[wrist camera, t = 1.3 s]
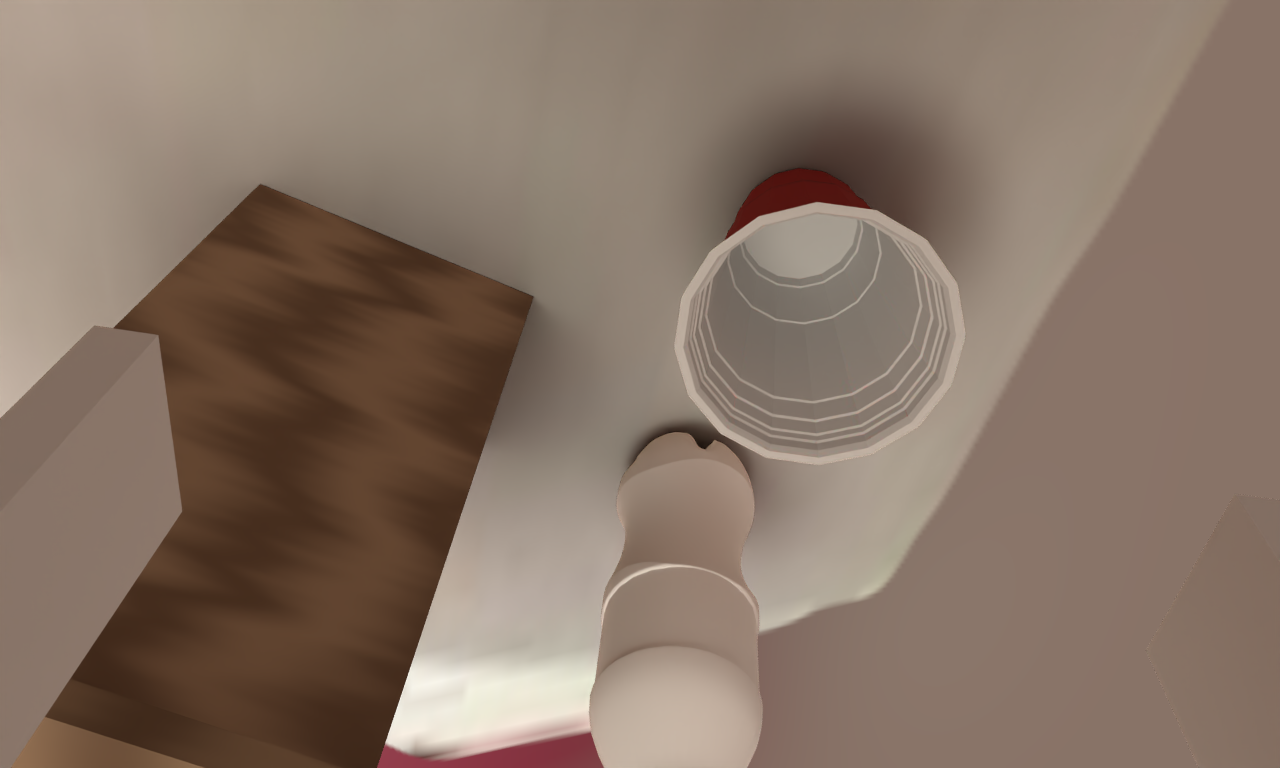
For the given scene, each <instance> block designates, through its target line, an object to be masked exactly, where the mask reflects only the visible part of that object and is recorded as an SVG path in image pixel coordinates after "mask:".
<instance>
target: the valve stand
mask: <svg viewBox="0 0 1280 768" xmlns="http://www.w3.org/2000/svg"><path fill="white" fill-rule="evenodd" d="M532 300H533V296H530V295H528V294H525V293H523V292H521V291H518V290H516V289H513V288H511V287H508V286H506V285H504V284H501V283H499V282H496V281H494V280H491V279H489V278H487V277H484V276H482V275H479V274H477V273H474V272H472V271H470V270H467V269H465V268H462V267H460V266H457V265H455V264H453V263H450V262H448V261H445V260H443V259H440V258H438V257H436V256H433V255H431V254H428V253H426V252H423V251H421V250H419V249H416V248H414V247H411V246H409V245H406V244H404V243H402V242H399V241H397V240H394V239H392V238H390V237H387V236H385V235H382V234H380V233H377V232H375V231H373V230H370V229H368V228H365V227H363V226H360V225H358V224H356V223H353V222H351V221H348V220H346V219H343V218H341V217H339V216H336V215H334V214H331V213H329V212H326V211H324V210H322V209H319V208H317V207H314V206H312V205H309V204H307V203H305V202H302V201H300V200H297V199H295V198H292V197H290V196H288V195H285V194H283V193H280V192H278V191H275V190H273V189H271V188H268V187H266V186H263V185H261V184H260V185H259V186H258V187H257V188H256V189H255V190H254V191H253V192H251V193H250V194H249V195H248V196H247V197H246V198H245V199H244V200H243V201H242V202H241V203H240V204H239V205H238V206H237V207H236V208H235V209H234V210H233V211H232V212H231V213H230V214H229V215H228V216H227V217H226V218H225V219H224V220H223V221H222V222H221V223H220V224H219V225H218V226H217V227H216V228H215V229H214V230H213V231H212V232H211V233H210V234H209V235H208V236H207V237H206V238H205V239H204V240H203V241H202V242H201V243H200V244H199V245H198V246H197V247H195V248H194V249H193V250H192V251H191V252H190V253H189V254H188V255H187V256H186V257H185V258H184V259H183V260H182V261H181V262H180V263H179V264H178V265H177V266H176V267H175V268H174V269H173V270H172V271H171V272H170V273H169V274H168V275H167V276H166V277H165V278H164V279H163V280H162V281H161V282H160V283H159V284H158V285H157V286H156V287H155V288H154V289H153V290H152V291H151V292H150V293H149V294H148V295H147V296H146V297H145V298H144V299H143V300H142V301H141V302H140V303H138V304H137V305H136V306H135V307H134V308H133V309H132V310H131V311H130V312H129V313H128V314H127V315H126V316H125V317H124V318H123V319H122V320H121V321H120V322H119V323H118V324H117V325H116V326H115V327H114V329H121V330H128V331H134V332H141V333H148V334H155V335H158V337H159V344H160V351H161V359H162V366H163V373H164V381H165V388H166V395H167V403H168V410H169V417H170V425H171V432H172V439H173V446H174V454H175V461H176V468H177V476H178V483H179V490H180V498H181V505H182V512H181V514H180V515H179V517H178V518H177V520H176V521H175V523H174V524H173V526H172V527H171V529H170V530H169V532H168V533H167V535H166V536H165V538H164V539H163V541H162V542H161V544H160V545H159V547H158V548H157V550H156V551H155V553H154V554H153V556H152V557H151V559H150V560H149V562H148V563H147V565H146V566H145V568H144V569H143V571H142V572H141V574H140V575H139V577H138V578H137V580H136V581H135V583H134V584H133V586H132V587H131V589H130V590H129V592H128V593H127V595H126V596H125V598H124V599H123V601H122V602H121V604H120V605H119V607H118V608H117V610H116V611H115V613H114V614H113V616H112V617H111V619H110V620H109V622H108V623H107V625H106V626H105V628H104V629H103V631H102V632H101V633H100V635H99V636H98V638H97V639H96V641H95V642H94V644H93V645H92V647H91V648H90V650H89V651H88V653H87V654H86V656H85V657H84V659H83V660H82V662H81V663H80V665H79V666H78V668H77V669H76V671H75V672H74V674H73V675H72V677H71V678H70V680H69V681H68V683H67V684H66V686H65V687H64V689H63V690H62V692H61V693H60V695H59V696H58V698H57V699H56V701H55V702H54V704H53V705H52V707H51V708H50V710H49V711H48V713H47V714H46V716H45V717H44V719H43V720H42V722H41V723H40V725H39V726H38V728H37V729H36V731H35V732H34V734H33V735H32V737H31V738H30V740H29V741H28V743H27V744H26V746H25V747H24V749H23V750H22V752H21V753H20V755H19V756H18V758H17V759H16V760H15V762H14V763H13V765H12V766H11V768H377V765H378V763H379V760H380V757H381V754H382V751H383V748H384V745H385V742H386V739H387V736H388V733H389V730H390V727H391V724H392V721H393V718H394V715H395V712H396V709H397V706H398V703H399V700H400V697H401V694H402V691H403V688H404V685H405V682H406V679H407V676H408V673H409V670H410V667H411V664H412V661H413V658H414V655H415V652H416V649H417V646H418V643H419V640H420V637H421V634H422V631H423V628H424V625H425V621H426V618H427V615H428V612H429V609H430V606H431V603H432V600H433V597H434V594H435V591H436V588H437V585H438V582H439V579H440V576H441V573H442V570H443V567H444V564H445V561H446V558H447V555H448V552H449V549H450V546H451V543H452V540H453V537H454V534H455V531H456V528H457V525H458V522H459V519H460V516H461V513H462V510H463V507H464V504H465V501H466V498H467V495H468V492H469V489H470V486H471V483H472V480H473V477H474V474H475V471H476V468H477V465H478V462H479V459H480V456H481V453H482V450H483V447H484V444H485V441H486V438H487V435H488V432H489V429H490V426H491V423H492V420H493V417H494V414H495V411H496V408H497V405H498V402H499V399H500V396H501V393H502V390H503V387H504V384H505V381H506V378H507V375H508V372H509V369H510V366H511V363H512V360H513V357H514V354H515V351H516V348H517V345H518V342H519V339H520V336H521V333H522V330H523V327H524V324H525V321H526V318H527V315H528V312H529V309H530V306H531V303H532Z"/></svg>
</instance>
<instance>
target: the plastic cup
mask: <svg viewBox="0 0 1280 768" xmlns="http://www.w3.org/2000/svg"><path fill="white" fill-rule="evenodd" d="M965 337H966V333H965V327H964V321H963V315H962V308H961V302H960V296H959V290H958V284H957V282H956V281H955V279H954V278H953V277H952V275H951V274H950V272H949V271H948V269H947V268H946V267H945V265H944V264H943V262H942V261H941V259H940V258H939V257H938V255H937V254H936V252H935V251H934V249H933V248H932V247H931V245H930V244H929V242H928V241H927V239H925V238H923V237H922V236H920V235H918V234H917V233H915V232H913V231H911V230H910V229H908V228H906V227H905V226H903V225H901V224H900V223H898V222H896V221H894V220H893V219H891V218H889V217H888V216H886V215H884V214H882V213H881V212H879V211H877V210H872V209H871V208H870V207H869V206H868V205H867V204H866V203H865V202H864V201H863V199H861V198H859V197H857V196H856V195H855V193H854V192H853V191H852V190H851V189H850V187H849V186H848V185H847V184H845V183H843V182H842V181H840V180H838V179H836V178H835V177H833V176H831V175H829V174H828V173H826V172H823V171H817V170H809V169H801V168H797V169H793V170H789V171H785V172H781V173H777V174H774V175H773V176H771V177H770V178H768V179H767V180H766V181H764V182H763V183H761V184H760V185H758V186H757V187H756V188H755V189H753V190H752V191H751V193H750V194H749V196H748V197H747V199H746V200H745V202H744V203H743V205H742V207H741V208H740V210H739V211H738V214H737V216H736V219H735V222H734V223H733V225H732V227H731V228H730V230H729V231H728V233H727V236H726V238H725V240H724V241H723V242H722V243H720V244H719V245H718V246H716V247H715V248H713V249H712V250H711V251H710V252H709V254H708V255H707V257H706V259H705V260H704V262H703V263H702V265H701V267H700V268H699V270H698V271H697V273H696V275H695V276H694V278H693V279H692V281H691V282H690V284H689V286H688V287H687V289H686V290H685V292H684V294H683V295H682V297H681V303H680V310H679V317H678V324H677V331H676V338H675V345H674V349H675V353H676V356H677V359H678V363H679V366H680V370H681V373H682V376H683V380H684V383H685V387H686V390H687V393H688V396H689V397H690V398H691V400H692V401H693V402H694V403H695V404H696V405H697V407H698V408H699V409H700V410H701V411H702V413H703V414H704V415H705V416H706V417H707V418H708V420H709V421H710V422H711V423H712V424H713V426H714V427H715V428H716V429H717V430H718V431H719V433H720V434H722V435H724V436H726V437H728V438H729V439H731V440H733V441H735V442H737V443H739V444H741V445H743V446H745V447H746V448H748V449H750V450H752V451H754V452H756V453H758V454H760V455H762V456H763V457H765V458H771V459H778V460H785V461H793V462H800V463H807V464H814V465H821V464H826V463H831V462H836V461H841V460H846V459H852V458H857V457H862V456H867V455H872V454H873V453H875V452H877V451H878V450H880V449H882V448H883V447H885V446H887V445H889V444H890V443H892V442H894V441H895V440H897V439H899V438H900V437H902V436H904V435H906V434H907V433H909V432H911V431H912V430H914V429H916V428H917V427H919V425H920V424H921V423H922V422H923V420H924V419H925V418H926V417H927V415H928V414H929V413H930V412H931V411H932V409H933V408H934V407H935V406H936V404H937V403H938V402H939V401H940V399H941V398H942V397H943V396H944V394H945V393H946V392H947V391H948V389H949V388H950V387H951V386H952V382H953V379H954V375H955V372H956V368H957V365H958V361H959V358H960V354H961V351H962V347H963V344H964V340H965Z"/></svg>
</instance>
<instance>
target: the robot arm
mask: <svg viewBox="0 0 1280 768" xmlns="http://www.w3.org/2000/svg"><path fill="white" fill-rule="evenodd" d="M181 512H182V505H181V498H180V490H179V483H178V476H177V468H176V461H175V454H174V446H173V439H172V432H171V425H170V417H169V410H168V403H167V395H166V388H165V381H164V373H163V366H162V359H161V351H160V344H159V337H158V335H155V334H148V333H141V332H134V331H128V330H121V329H114V328H107V327H100V326H93V327H92V328H91V329H90V330H89V331H88V332H87V333H86V334H85V335H84V336H83V337H82V338H81V339H80V340H79V341H78V342H77V343H76V344H75V345H74V346H73V347H72V348H71V349H70V350H69V351H68V352H67V353H66V354H65V355H64V356H63V357H62V358H61V359H60V360H59V361H58V362H57V363H56V364H55V365H54V366H53V367H52V368H51V369H50V370H49V371H48V372H47V373H46V374H45V375H44V376H43V377H42V378H41V379H40V380H39V381H38V382H37V383H36V384H35V385H34V386H33V387H32V388H31V389H30V390H29V391H28V392H27V393H26V394H25V395H24V396H23V397H22V398H21V399H20V400H19V401H18V402H17V403H16V404H15V405H14V406H12V407H11V408H10V409H9V410H8V411H7V412H6V413H5V414H4V415H3V416H2V417H1V418H0V768H11V766H12V765H13V763H14V762H15V760H16V759H17V758H18V756H19V755H20V753H21V752H22V750H23V749H24V747H25V746H26V744H27V743H28V741H29V740H30V738H31V737H32V735H33V734H34V732H35V731H36V729H37V728H38V726H39V725H40V723H41V722H42V720H43V719H44V717H45V716H46V714H47V713H48V711H49V710H50V708H51V707H52V705H53V704H54V702H55V701H56V699H57V698H58V696H59V695H60V693H61V692H62V690H63V689H64V687H65V686H66V684H67V683H68V681H69V680H70V678H71V677H72V675H73V674H74V672H75V671H76V669H77V668H78V666H79V665H80V663H81V662H82V660H83V659H84V657H85V656H86V654H87V653H88V651H89V650H90V648H91V647H92V645H93V644H94V642H95V641H96V639H97V638H98V636H99V635H100V633H101V632H102V631H103V629H104V628H105V626H106V625H107V623H108V622H109V620H110V619H111V617H112V616H113V614H114V613H115V611H116V610H117V608H118V607H119V605H120V604H121V602H122V601H123V599H124V598H125V596H126V595H127V593H128V592H129V590H130V589H131V587H132V586H133V584H134V583H135V581H136V580H137V578H138V577H139V575H140V574H141V572H142V571H143V569H144V568H145V566H146V565H147V563H148V562H149V560H150V559H151V557H152V556H153V554H154V553H155V551H156V550H157V548H158V547H159V545H160V544H161V542H162V541H163V539H164V538H165V536H166V535H167V533H168V532H169V530H170V529H171V527H172V526H173V524H174V523H175V521H176V520H177V518H178V517H179V515H180V514H181ZM1146 652H1147V654H1148V656H1149V659H1150V661H1151V663H1152V665H1153V668H1154V670H1155V672H1156V674H1157V677H1158V679H1159V681H1160V683H1161V685H1162V688H1163V690H1164V692H1165V694H1166V696H1167V699H1168V701H1169V703H1170V705H1171V708H1172V710H1173V712H1174V714H1175V717H1176V719H1177V721H1178V723H1179V725H1180V728H1181V730H1182V732H1183V735H1184V737H1185V739H1186V741H1187V743H1188V746H1189V748H1190V750H1191V752H1192V755H1193V757H1194V759H1195V761H1196V763H1197V766H1198V768H1280V500H1275V499H1268V498H1261V497H1255V496H1248V495H1241V494H1234V496H1233V498H1232V500H1231V501H1230V503H1229V505H1228V507H1227V508H1226V510H1225V512H1224V514H1223V515H1222V517H1221V519H1220V521H1219V522H1218V524H1217V526H1216V528H1215V529H1214V532H1213V533H1212V535H1211V536H1210V538H1209V540H1208V542H1207V544H1206V545H1205V547H1204V549H1203V551H1202V552H1201V554H1200V556H1199V558H1198V559H1197V561H1196V563H1195V565H1194V567H1193V568H1192V570H1191V572H1190V574H1189V575H1188V577H1187V579H1186V581H1185V582H1184V584H1183V586H1182V588H1181V590H1180V591H1179V593H1178V595H1177V596H1176V598H1175V600H1174V602H1173V603H1172V605H1171V607H1170V609H1169V610H1168V613H1167V614H1166V616H1165V618H1164V619H1163V621H1162V623H1161V625H1160V626H1159V628H1158V630H1157V632H1156V633H1155V635H1154V637H1153V639H1152V641H1151V642H1150V644H1149V646H1148V648H1147V649H1146Z"/></svg>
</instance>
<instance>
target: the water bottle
mask: <svg viewBox="0 0 1280 768" xmlns="http://www.w3.org/2000/svg"><path fill="white" fill-rule="evenodd" d="M616 505H617V513H618V516H619V519H620V521H621V524H622V525H623V527H624V529H625V544H624V549H623V552H622V555H621V558H620V561H619V563H618V565H617V567H616V569H615V571H614V573H613V575H612V577H611V579H610V580H609V582H608V584H607V586H606V589H605V592H604V597H603V604H602V612H601V624H602V633H601V641H600V648H599V656H598V663H597V671H596V678H595V683H594V685H593V688H592V691H591V694H590V706H589V716H590V726H591V733H592V736H593V740H594V743H595V746H596V749H597V752H598V755H599V757H600V759H601V762H602V764H603V766H604V768H747V767H748V765H749V763H750V761H751V759H752V757H753V754H754V752H755V750H756V748H757V745H758V741H759V737H760V732H761V727H762V715H763V704H762V700H761V695H760V693H759V673H758V649H757V648H758V647H757V636H758V632H759V605H758V602H757V600H756V598H755V596H754V595H753V594H752V592H751V591H750V590H749V588H748V586H747V585H746V583H745V581H744V579H743V575H742V572H741V555H742V550H743V546H744V543H745V541H746V539H747V537H748V534H749V532H750V529H751V526H752V523H753V518H754V510H755V507H754V494H753V489H752V485H751V481H750V479H749V476H748V474H747V472H746V470H745V468H744V466H743V464H742V463H741V461H740V460H739V458H738V457H737V456H736V455H735V454H734V452H733V451H732V450H730V449H729V448H728V447H727V446H726V445H725V444H723V443H721V442H718V441H716V440H714V441H713V442H712V443H711V444H710V445H709V446H708V447H707V448H706V449H702V448H700V447H698V446H697V444H696V442H695V440H694V438H693V437H692V436H691V435H690V434H688V433H681V432H673V433H668V434H665V435H663V436H660V437H658V438H656V439H654V440H653V441H652V442H650V443H649V444H648V445H647V446H646V447H645V448H644V449H643V450H642V451H641V453H640V454H639V455H638V457H637V458H636V460H635V462H634V463H633V464H632V465H630V467H629V468H628V469H627V471H626V472H625V473H624V475H623V476H622V479H621V482H620V486H619V491H618V496H617V502H616Z"/></svg>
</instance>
